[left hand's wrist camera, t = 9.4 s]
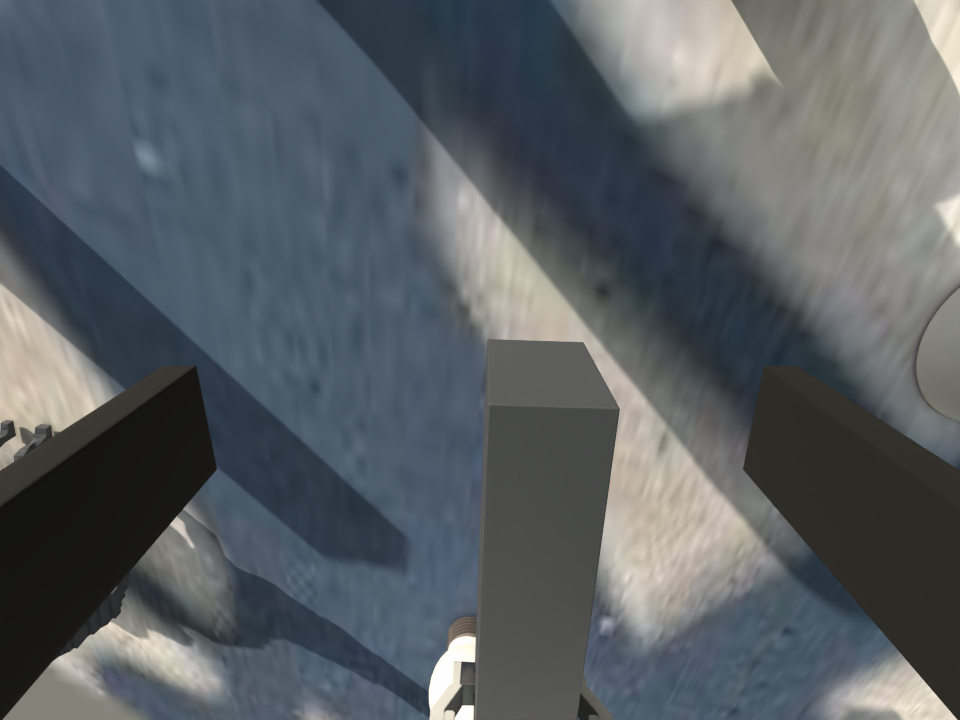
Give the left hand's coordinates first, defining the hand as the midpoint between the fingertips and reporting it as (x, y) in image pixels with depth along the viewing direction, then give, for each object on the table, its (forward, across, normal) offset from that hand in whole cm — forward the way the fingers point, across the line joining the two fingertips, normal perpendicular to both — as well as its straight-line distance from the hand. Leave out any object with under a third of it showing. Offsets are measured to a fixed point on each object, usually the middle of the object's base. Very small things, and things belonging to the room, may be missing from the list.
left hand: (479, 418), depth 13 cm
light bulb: (+30, -1, -40) cm, 50 cm away
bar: (+16, +3, -16) cm, 23 cm away
